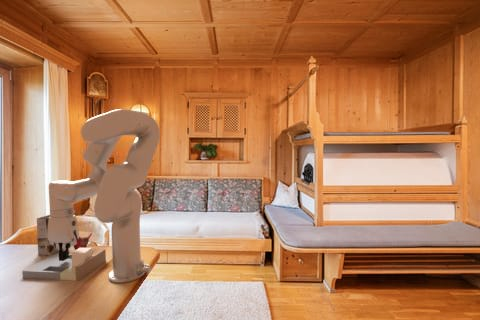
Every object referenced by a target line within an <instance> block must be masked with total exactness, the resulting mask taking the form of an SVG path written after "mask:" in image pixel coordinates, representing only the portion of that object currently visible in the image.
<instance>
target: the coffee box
mask: <svg viewBox="0 0 480 320" xmlns="http://www.w3.org/2000/svg"><path fill="white" fill-rule="evenodd" d="M49 217H50V214H48V215H44V216H41V217H37V218H36V231H37V232H36V237H37V254H38V255H46V256H52V255H54V254H56V253H58V252H59V251H58V250H57V249H56V247H55V246H54V245H51V244H50V243H49V241H48V232H47V231H48V220H49Z"/></svg>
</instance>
